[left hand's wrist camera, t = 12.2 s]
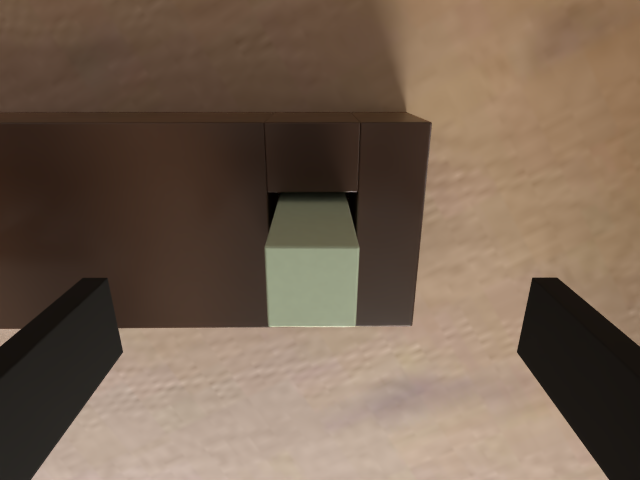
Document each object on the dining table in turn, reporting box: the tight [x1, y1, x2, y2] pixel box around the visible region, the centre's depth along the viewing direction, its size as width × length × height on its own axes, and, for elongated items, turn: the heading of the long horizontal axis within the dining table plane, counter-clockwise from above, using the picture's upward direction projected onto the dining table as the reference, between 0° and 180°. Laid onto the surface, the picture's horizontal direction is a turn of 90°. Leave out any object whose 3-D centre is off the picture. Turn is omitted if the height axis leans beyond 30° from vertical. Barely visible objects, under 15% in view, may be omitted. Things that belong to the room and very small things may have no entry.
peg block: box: [0, 112, 432, 329], centre depth 18 cm, size 26×10×12 cm, turn 90°
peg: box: [264, 192, 360, 327], centre depth 19 cm, size 3×3×10 cm
